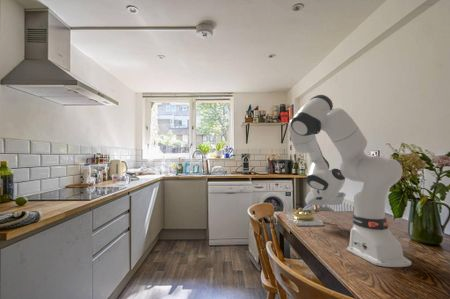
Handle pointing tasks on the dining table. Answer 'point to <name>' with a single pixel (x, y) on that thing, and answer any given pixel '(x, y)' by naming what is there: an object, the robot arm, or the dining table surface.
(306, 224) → the cap plate
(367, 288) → the dining table surface
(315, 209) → the ring nut
